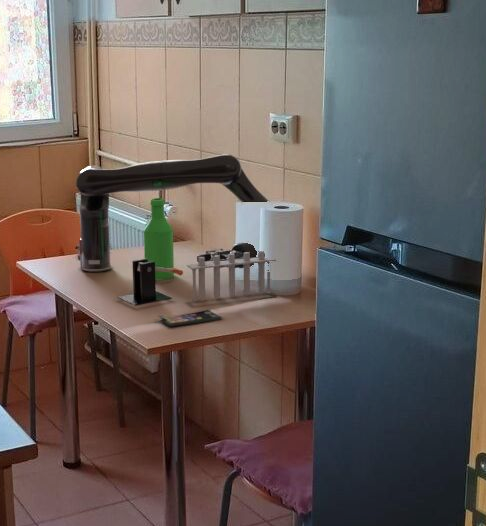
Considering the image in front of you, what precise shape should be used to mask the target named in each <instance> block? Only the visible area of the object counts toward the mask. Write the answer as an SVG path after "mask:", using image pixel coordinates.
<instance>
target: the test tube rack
mask: <svg viewBox="0 0 486 526" xmlns="http://www.w3.org/2000/svg"><path fill="white" fill-rule="evenodd" d="M258 252H259V253H258V257H256V258H250V253H249V252H244V254H243V255H244V259H237V260H235V254H229V256H228V257H229V260H228V261H220V256H219V255H215V256H214V261H207V262H205V259H204V257H199V259H198V262H197V263H191V264H186V267H188V268H189V269H190V270H191V271H192V302H198V301H197V279H196V278H197V277H196V276H197V275H196V274H197V270H198V299H199V301H206V269H211V268H213V297H214V299H215V300H219V299H220V298H221V268H220V267H222V266H229V268H228V296H229V297H230V298H235V296H236V268H235V265H241V264H244V268H243V295H244V296H250V293H251V267H250V263H258V266H257V267H258V269H257V272H258V273H257V276H258V278H257V280H258V281H257V289H258V290H257V291H258V294H260V295H264V294H265V287H267V288H266V293H267V294H270V293H272V292H271V291H272V289H271V271H270V272H265V271H269V270H267V269H266V268H265V267H266V266H265V264H267V263H268V264H269V263H270V262H269V261H274V262H277V261H276V259H268V258H265V253H264V251H258ZM265 262H267V263H265ZM270 264H271V263H270ZM268 266H269V265H268ZM222 268H223V267H222ZM265 269H266V270H265ZM265 274H267V275H266V276H265ZM265 277H266V282H265ZM265 284H267V285H265ZM273 298H275V299H276V298H277V295H273V296H267V297H263V298H262V300H267V299H273ZM258 300H260V299H258Z"/></svg>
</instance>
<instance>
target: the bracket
mask: <svg viewBox="0 0 486 526" xmlns="http://www.w3.org/2000/svg"><path fill="white" fill-rule="evenodd" d="M138 262H142V263H140V271H137V268H138ZM131 263H132V289H133V293H131V294H127V295H122V296H117V299H119V300H122V301H123V302H126V303H128V304H130V305H133V306H134V307H136V306H137V307H138V306H141V305H147V304H151V303H157V302H162V301H167V300H171V299H173V297H171V296H169V295H166V294H164V293H162V292H159V291H157V287H156V286H157V280H156V279H155V262H154V261H151V262H148V259H146V258H145V257H144V258H141V259H133V260H132V262H131Z"/></svg>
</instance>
